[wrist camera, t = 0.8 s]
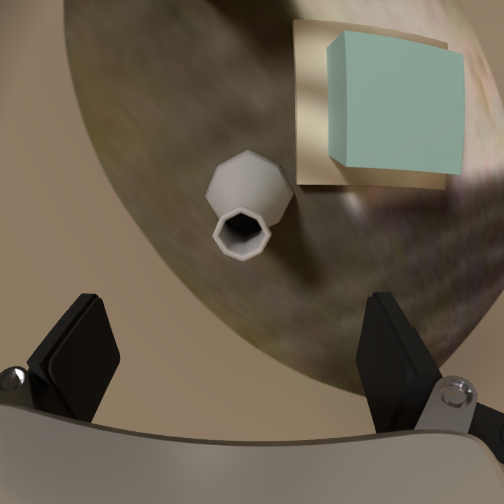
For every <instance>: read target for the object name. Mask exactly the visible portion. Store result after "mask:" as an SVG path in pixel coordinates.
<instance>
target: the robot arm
mask: <svg viewBox="0 0 504 504" xmlns="http://www.w3.org/2000/svg"><path fill="white" fill-rule="evenodd" d="M119 363H120V353H119V351H118V347H117V345H116V342H115V339H114V336H113V333H112V330H111V327H110V323H109V320H108V317H107V314H106V311H105V307H104V304H103V301H102V299H101V298H99V297H98V295H96V294H86V293H83V294H81V295H80V296H79V297H78V298H77V299H76V301H75V302H74V303H73V304H72V305H71V307H70V308H69V309H68V310H67V311H66V313H65V314H64V315H63V316H62V317H61V319H60V320H59V321H58V322H57V324H56V325H55V326H54V327H53V328H52V330H51V331H50V332H49V333H48V335H47V336H46V337H45V338H44V340H43V341H42V342H41V344H40V345H39V346H38V348H37V349H36V350H35V351H34V353H33V354H32V355H31V357H30V358H29V359H28V361H27V364H28V366H29V369H28V371H26V369H25V368H23V367H20V366H13V367H10V368H7V369H5V370H4V371H2V372H1V373H0V504H504V413H501V412H499V411H497V410H494V409H492V408H490V407H487V406H485V405H482V404H480V403H478V402H477V392H476V389H475V388H474V386H473V385H472V384H471V383H470V382H469V381H468V380H466V379H464V378H462V377H458V376H447V377H442V375H441V373H440V371H439V369H438V367H437V366H436V364H435V362H434V360H433V358H432V357H431V355H430V353H429V351H428V350H427V348H426V346H425V344H424V343H423V341H422V339H421V337H420V336H419V334H418V332H417V331H416V329H415V328H414V327H412V326H411V325H410V323H409V321H408V320H407V318H406V316H405V315H404V313H403V311H402V310H401V308H400V306H399V305H398V303H397V301H396V300H395V298H394V297H393V295H392V293H391V292H389V291H388V292H374V293H373V295H372V297H368V299H367V304H366V309H365V315H364V320H363V326H362V331H361V336H360V341H359V346H358V351H357V355H356V365H357V368H358V371H359V375H360V378H361V381H362V385H363V388H364V391H365V395H366V398H367V401H368V405H369V408H370V412H371V415H372V419H373V422H374V426H375V430H376V433H377V434H369V435H361V436H352V437H341V438H330V439H316V440H298V441H225V440H207V439H193V438H183V437H173V436H164V435H156V434H149V433H142V432H136V431H129V430H123V429H118V428H112V427H107V426H102V425H97V424H92V423H91V422H92V420H93V417H94V415H95V413H96V411H97V408H98V406H99V404H100V402H101V400H102V398H103V396H104V394H105V391H106V389H107V387H108V385H109V383H110V381H111V379H112V377H113V375H114V373H115V371H116V369H117V367H118V365H119Z"/></svg>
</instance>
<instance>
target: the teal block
mask: <svg viewBox="0 0 504 504" xmlns="http://www.w3.org/2000/svg"><path fill="white" fill-rule="evenodd" d="M326 51H327V78H328V155H329V156H330V157H332V158H333V159H335V160H337V161H338V162H340V163H341V164H343V165H344V166H346V167H363V168H383V169H399V170H412V171H424V172H435V173H445V174H455V175H461V170H462V159H463V145H464V124H465V81H464V61H463V54H459V53H456V52H453V51H449V50H445V49H442V48H438V47H434V46H430V45H426V44H422V43H417V42H413V41H408V40H403V39H398V38H393V37H387V36H381V35H375V34H368V33H361V32H353V31H343V32H342V33H341V34H340V35H339V36H338V37H337V38H336V39H335V40H334V41H333V42H332V43H331V44H330V45H329V46H328V47H327V48H326Z"/></svg>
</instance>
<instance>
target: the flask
mask: <svg viewBox="0 0 504 504" xmlns="http://www.w3.org/2000/svg"><path fill="white" fill-rule="evenodd" d="M293 195H294V192H293V190H292V188H291V186H290V184H289V182H288V180H287V179H286V177H285V175H284V173H283V171H282V169H281V167H280V165H279V164H278V163H276V162H274V161H271V160H269V159H267V158H265V157H263V156H260V155H258V154H256V153H254V152H252V151H249V150H246V151H244V152H242V153H240V154H238V155H236V156H235V157H233V158H231V159H229V160H227V161H225V162H224V163H222V164H220V165H218V166H217V168H216V171H215V173H214V175H213V177H212V180H211V182H210V184H209V187H208V189H207V192H206V194H205V197H206V199H207V200H208V202H209V203H210V205H211V207H212V208H213V210H214V212H215V213H216V215H217V217H218V218H219V222H218V224H217V226H216V229H215V231H214V233H213V238H214V239H215V241H216V243H217V244H218V246H219V247H220V249H221V251H222V252H223V254H225V255H227V256H230V257H232V258H235V259H237V260H239V261H242V262H245V261H247V260H249V259H251V258H253V257H255V256H257V255H259V254H261V253H262V252H263V250H264V248H265V246H266V245H267V243H268V241H269V239H270V237H271V235H272V233H271V231H270V230H269V228H268V227H270V226H272V225H274V224H276V223H278V222H280V220H281V218H282V216H283V214H284V212H285V210H286V208H287V206H288V204H289V202H290V200H291V198H292V196H293Z"/></svg>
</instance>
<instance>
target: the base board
mask: <svg viewBox="0 0 504 504" xmlns="http://www.w3.org/2000/svg"><path fill="white" fill-rule="evenodd" d="M292 25H293V47H294V74H295V117H296V183H297V185H362V186H388V187H408V188H424V189H439V190H445V182H446V174H445V173H435V172H424V171H412V170H399V169H383V168H363V167H346V166H344V165H343V164H341V163H340V162H338V161H337V160H335V159H333V158H332V157H330V156H329V155H328V78H327V51H326V48H327V47H328V46H329V45H330V44H331V43H332V42H333V41H334V40H335V39H336V38H337V37H338V36H339V35H340V34H341V33H342V32H343V31H353V32H361V33H368V34H375V35H381V36H387V37H393V38H398V39H403V40H408V41H413V42H417V43H422V44H426V45H430V46H434V47H438V48H442V49H445V50H448V45H447V43H446V42H442V41H438V40H435V39H431V38H427V37H423V36H419V35H414V34H410V33H405V32H400V31H395V30H390V29H384V28H378V27H372V26H365V25H358V24H350V23H341V22H331V21H318V20H299V19H294V20H293V23H292Z"/></svg>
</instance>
